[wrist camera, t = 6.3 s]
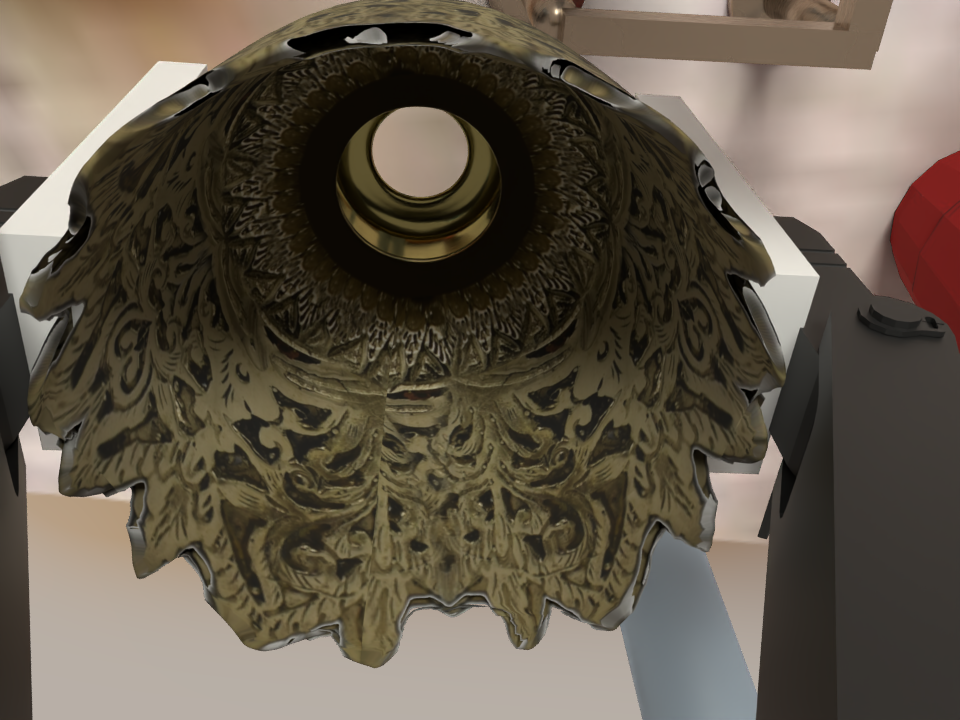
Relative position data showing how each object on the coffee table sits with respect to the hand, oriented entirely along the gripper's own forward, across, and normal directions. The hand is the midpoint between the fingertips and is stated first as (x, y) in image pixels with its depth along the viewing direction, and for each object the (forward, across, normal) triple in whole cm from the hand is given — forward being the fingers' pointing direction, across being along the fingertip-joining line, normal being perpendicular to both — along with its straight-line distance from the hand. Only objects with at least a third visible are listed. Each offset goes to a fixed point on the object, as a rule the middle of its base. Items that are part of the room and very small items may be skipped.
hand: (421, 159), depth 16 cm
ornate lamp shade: (0, 0, 0) cm, 0 cm away
